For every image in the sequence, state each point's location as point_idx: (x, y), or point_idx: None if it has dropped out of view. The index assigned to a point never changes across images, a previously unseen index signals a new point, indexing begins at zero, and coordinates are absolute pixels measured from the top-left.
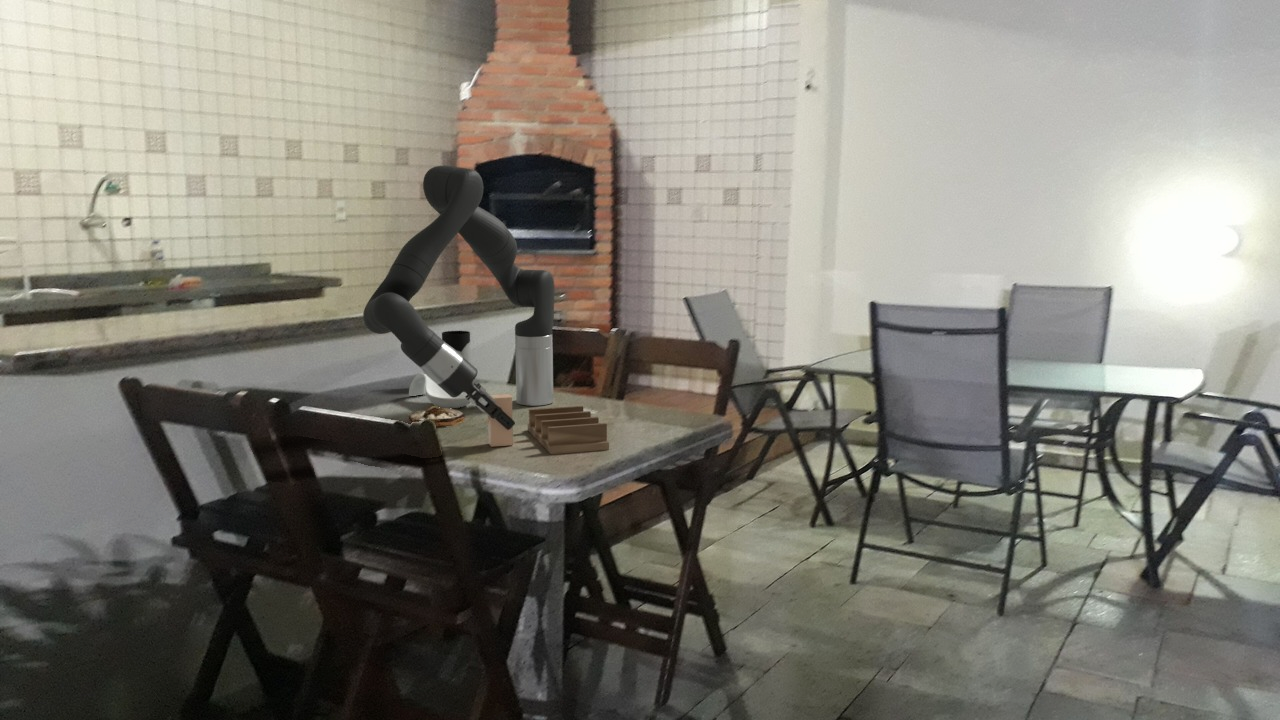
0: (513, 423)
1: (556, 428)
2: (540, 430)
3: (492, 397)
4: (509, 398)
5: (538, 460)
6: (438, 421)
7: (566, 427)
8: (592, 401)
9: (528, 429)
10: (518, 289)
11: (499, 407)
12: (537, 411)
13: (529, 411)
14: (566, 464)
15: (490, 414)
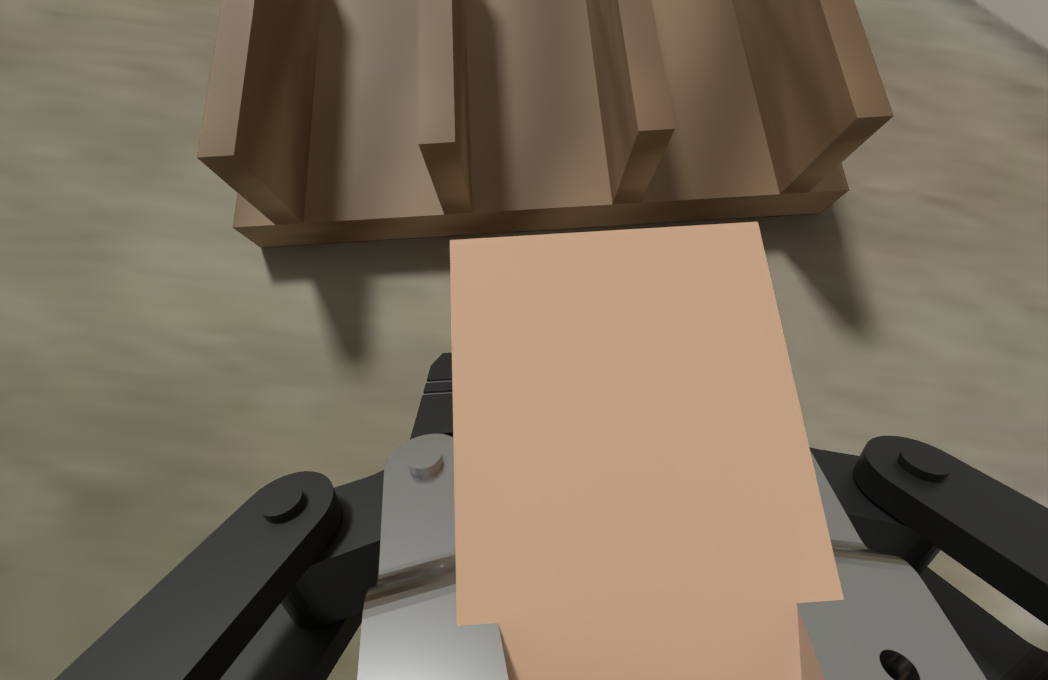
0: None
1: (873, 76)
2: (469, 184)
3: (743, 609)
4: (758, 273)
5: (933, 286)
6: None
7: (854, 19)
8: None
9: (275, 241)
10: None
11: (943, 480)
12: (249, 115)
13: (231, 164)
14: (1011, 177)
15: (972, 614)
